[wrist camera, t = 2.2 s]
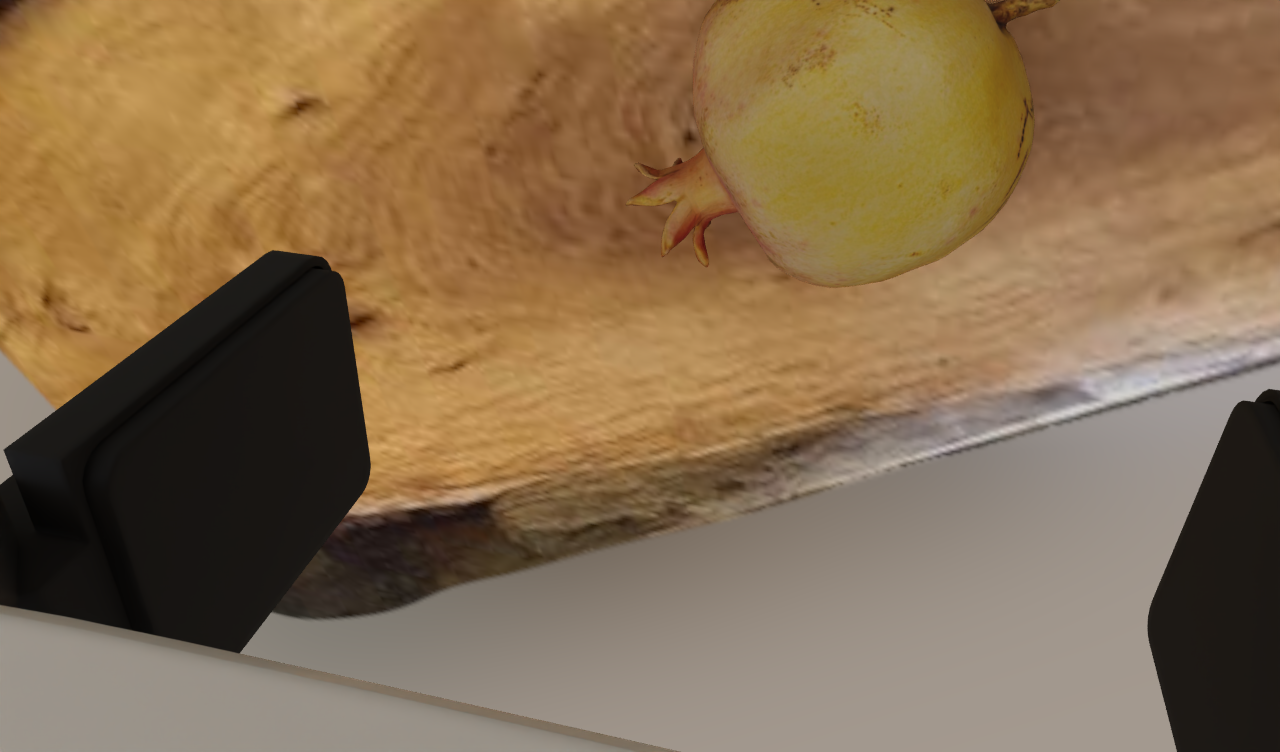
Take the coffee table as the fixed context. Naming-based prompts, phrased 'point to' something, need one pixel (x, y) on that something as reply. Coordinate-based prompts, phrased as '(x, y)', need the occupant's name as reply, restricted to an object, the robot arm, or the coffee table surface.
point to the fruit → (852, 131)
